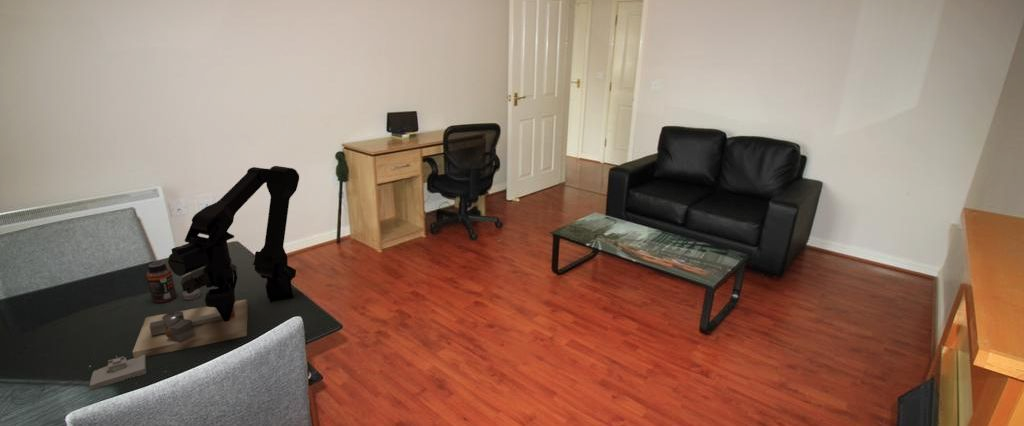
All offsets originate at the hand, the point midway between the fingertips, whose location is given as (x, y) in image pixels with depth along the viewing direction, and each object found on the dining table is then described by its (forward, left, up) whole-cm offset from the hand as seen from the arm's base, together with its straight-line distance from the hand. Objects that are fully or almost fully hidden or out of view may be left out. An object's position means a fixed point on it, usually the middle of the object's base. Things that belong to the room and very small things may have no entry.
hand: (227, 312), depth 131 cm
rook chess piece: (+11, -22, -4) cm, 25 cm away
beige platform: (+22, +11, -5) cm, 25 cm away
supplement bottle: (+18, -24, -4) cm, 30 cm away
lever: (+8, 0, -2) cm, 8 cm away
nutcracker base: (+8, -1, -4) cm, 9 cm away
